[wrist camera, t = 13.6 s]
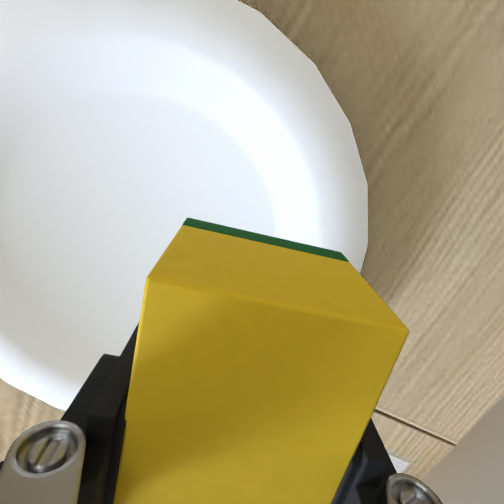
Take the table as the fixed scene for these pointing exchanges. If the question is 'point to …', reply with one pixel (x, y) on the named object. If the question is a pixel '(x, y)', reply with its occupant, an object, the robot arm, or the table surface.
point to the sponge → (251, 371)
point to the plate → (149, 163)
